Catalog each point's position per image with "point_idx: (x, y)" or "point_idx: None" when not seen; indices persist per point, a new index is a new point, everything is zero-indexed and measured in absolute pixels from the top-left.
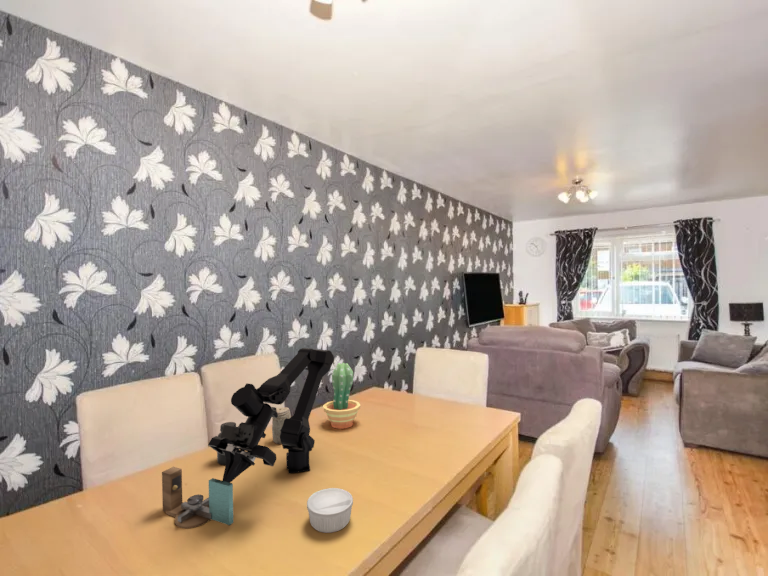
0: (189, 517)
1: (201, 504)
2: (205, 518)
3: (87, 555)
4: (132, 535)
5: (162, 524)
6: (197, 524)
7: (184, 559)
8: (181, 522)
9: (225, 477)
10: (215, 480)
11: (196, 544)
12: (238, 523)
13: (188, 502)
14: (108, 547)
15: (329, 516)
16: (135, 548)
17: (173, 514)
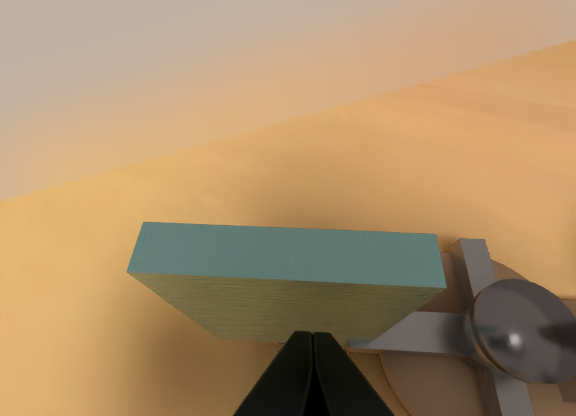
0: None
1: (477, 351)
2: None
3: (541, 88)
4: (548, 171)
5: (535, 247)
6: None
7: (272, 156)
8: None
9: (315, 366)
10: (364, 258)
11: (293, 211)
12: (221, 381)
13: (518, 279)
14: (536, 119)
15: None
16: (459, 139)
17: (572, 302)
